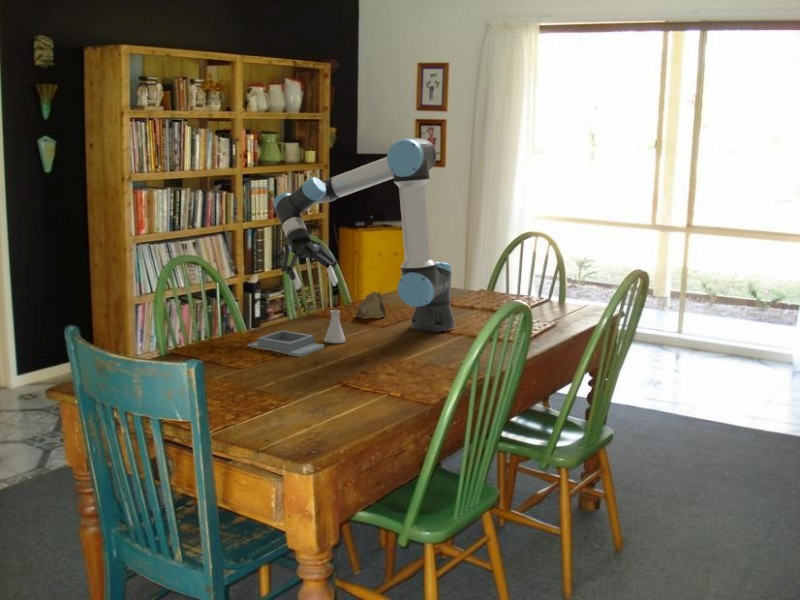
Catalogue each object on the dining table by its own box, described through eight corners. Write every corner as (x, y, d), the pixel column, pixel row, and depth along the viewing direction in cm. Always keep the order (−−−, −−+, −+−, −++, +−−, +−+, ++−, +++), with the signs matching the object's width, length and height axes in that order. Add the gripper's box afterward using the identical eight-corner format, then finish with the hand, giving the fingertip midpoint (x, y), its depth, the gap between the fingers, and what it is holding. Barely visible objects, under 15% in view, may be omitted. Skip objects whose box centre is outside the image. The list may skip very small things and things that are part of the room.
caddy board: (324, 347, 287) (324, 337, 287) (299, 356, 276) (299, 345, 276) (273, 339, 297) (273, 328, 296) (247, 347, 286) (247, 336, 285)
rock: (348, 313, 327) (373, 312, 322) (353, 291, 330) (378, 290, 326) (362, 326, 335) (386, 325, 331) (366, 305, 339) (390, 304, 335)
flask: (343, 344, 292) (343, 314, 290) (321, 343, 293) (321, 312, 291) (348, 339, 299) (349, 309, 297) (327, 338, 300) (327, 308, 298)
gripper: (324, 238, 320) (346, 288, 311) (259, 242, 306) (279, 295, 297) (332, 225, 315) (354, 275, 306) (266, 228, 301) (287, 281, 292)
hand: (317, 285), depth 301 cm, fingers open, 13 cm apart
